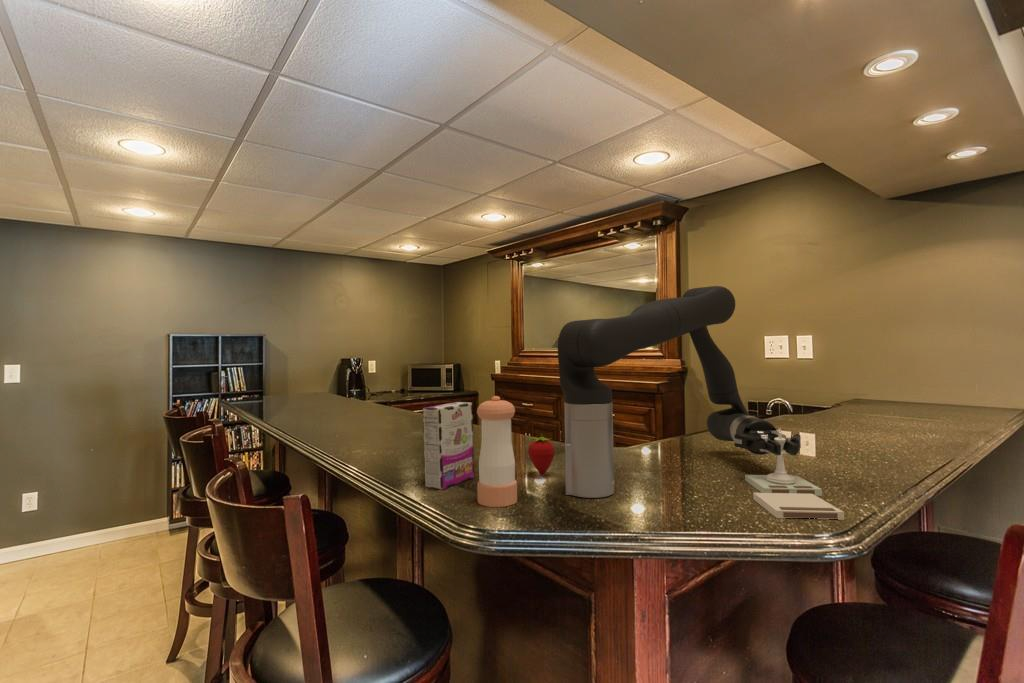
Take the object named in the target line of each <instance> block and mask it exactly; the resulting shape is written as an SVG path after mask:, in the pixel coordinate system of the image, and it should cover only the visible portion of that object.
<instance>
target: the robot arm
mask: <svg viewBox="0 0 1024 683" xmlns="http://www.w3.org/2000/svg"><path fill="white" fill-rule="evenodd" d="M735 309H736V300H735V296H734V294H733V293H732V291H731V290H730V289H728V288H726V287H725V286H721V285H710V286H702V287H701V286H700V287H693V288H690V289H687V290H686V291H685V292H684V293H683V295H682V296H680V297H669V298H664V299H657V300H654V301H650V302H647V303H644V304H641V305H639V306H638V307H636V308H635V309H634V310H632V311H631V313H630V314H629V315H623V316H619V317H611V318H591V319H580V320H572V321H569V322H567V323H565V324H564V325H563V326H562V328H561V329H560V332H559V334H558V339H557V361H558V374H559V385H560V389H561V390H562V393H563V398H564V399H563V401H564V403H563V404H564V466H565V468H564V469H565V470H564V471H565V473H564V474H565V476H564V477H565V495H566V496H573V497H574V496H575V497H578V498H579V497H580V498H589V499H590V498H591V499H592V498H593V499H594V498H595V499H598V498H605V497H609V496H611V495H613V494H614V493H615V469H614V468H615V467H614V461H615V460H614V424H613V422H614V418H613V391H612V388H611V387H610V386H609V385H607V384H605V383H603V381H601V380H600V379H599V377H597V375H596V371H595V368H602V367H606V366H609V365H611V364H613V363H615V362H618V361H620V360H621V359H624V357H626V356H629V355H630V354H632V353H634V352H636V351H639V350H643V349H646V348H651V347H653V346H658V345H661V344H664V343H666V342H669V341H671V340H674V339H676V338H678V337H681V336H684V335H686V334H689V336H690V339H691V342H692V345H693V346H694V348H695V351H696V353H697V356H698V359H699V361H700V364H701V367H702V372H703V375H704V382H705V385H706V390H707V395H708V398H709V401H710V402H711V403H712V404H715V405H725V406H727V405H729V406H731V407H730V408H725V409H722V410H717V411H713V412H711V413H709V415H708V416H707V419H706V427H707V430H708V432H709V434H711V435H712V437H714V438H715V439H717V440H719V441H725V442H734V447H735V448H739V449H740V448H741V449H744V450H746V451H748V452H749V453H751V454H754V455H758V456H759V455H760V456H762V455H767V454H770V453H771V454H773V455H775V456H777V455H781V445H780V444H779V443H777V442H775V441H774V438H777V437H778V430H777V428H776V427H775V426H774V424H772V423H771V422H769V421H767V420H764V419H761V418H759V417H756V416H754V415H751V414H750V413H749V412H748V410H747V408H746V406H745V404H744V403H743V401H742V398H741V396H740V392H739V388H738V384H737V380H736V379H737V378H736V375H735V370H734V367H733V365H732V364H731V362H730V361H729V359H728V357H726V355H725V354H724V353H723V352H722V351H721V349H720V348H719V346H717V344H716V343H715V341H714V340H713V338H712V336H711V335H710V332H709V329H708V326H713V325H721V324H724V323H726V322H728V320H730V319H731V318H732V316H733V315H734V312H735ZM781 437H782V438H785V439H786V441H785V444H784V447H783V450H786V453H785V454H788V455H790V456H797V454H798V453H799V451H800V449H801V448H802V446H801V440H802V439H801V438H802V437H801V434H798V433H795V434H793V435H790V437H787V436H786V435H785V434H783V433H782V435H781Z"/></svg>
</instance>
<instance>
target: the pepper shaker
mask: <svg viewBox="0 0 1024 683" xmlns="http://www.w3.org/2000/svg"><path fill="white" fill-rule="evenodd" d="M515 413H516V408H515V405H514V404H513V403H511V402H509V401H507V400H501V397H500V396H498V395H494V396H492V397H491V400H485V401H483V402H482V403H480V404H479V405H478V407H477V409H476V414H477V416H478V418H480V420H481V442H480V443H481V444H480V452H479V458H478V472H479V473H478V475H479V476H478V477H479V480H478V481H477V484H476V485H477V486H476V488H477V489H476V490H477V495H476V496H477V503H478V504H479V505H481V506H484V507H490V508H500V507H502V508H503V507H508V506H512V505H515V504H516V503H517V502H518V480H516V477H515V476H516V459H515V454H514V449H513V442H512V418H513V417H515V416H514V415H515Z"/></svg>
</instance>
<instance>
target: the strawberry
mask: <svg viewBox="0 0 1024 683" xmlns="http://www.w3.org/2000/svg"><path fill="white" fill-rule="evenodd" d="M527 439H528V440H532V442H530V443H529V445H528V451H527V453H528V456H529V460H530V462H531V463H532V465H533V466H534V468H535V469H536V470H537V472H538V473H539V475H540V476H545V474H546V473H547V471H548V469H549V468H550V466H551V465H552V462H553V461H554V458H555V452H556V450H555V446H554V444H552V442H551V441H552V439H553V437H544V436H543V434H541V436H540V437H528V438H527Z"/></svg>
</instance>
